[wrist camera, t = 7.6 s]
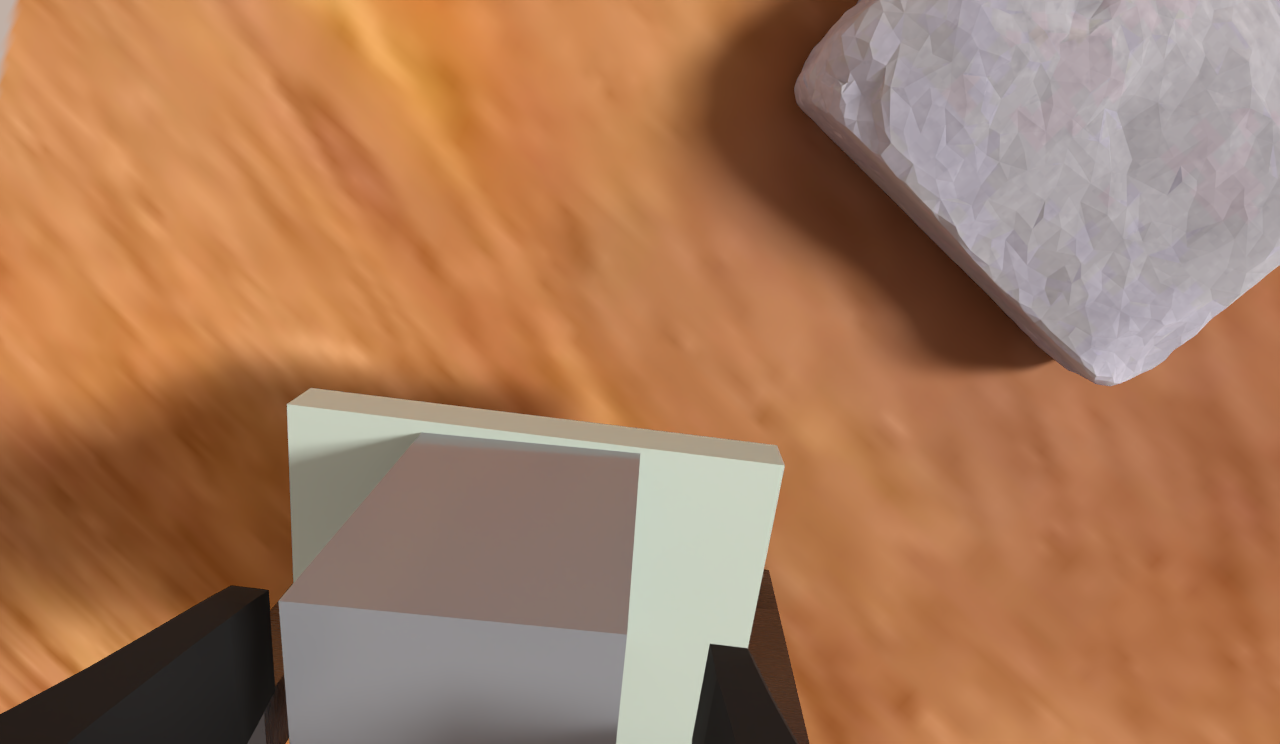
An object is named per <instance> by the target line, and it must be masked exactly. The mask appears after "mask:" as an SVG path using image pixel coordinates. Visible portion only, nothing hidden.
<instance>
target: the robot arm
mask: <svg viewBox="0 0 1280 744" xmlns="http://www.w3.org/2000/svg"><path fill="white" fill-rule="evenodd" d="M274 692H275V677H274V662H273V647H272V632H271V617H270V603H269V590H264V589H256V588H248V587H240V586H230V587H228V588H226V589H224V590H222V591H220V592H218V593H216V594H215V595H213V596H211V597H209V598H207V599H206V600H204V601H202V602H200V603H199V604H197V605H195V606H193V607H192V608H190V609H188V610H187V611H185V612H183V613H181V614H180V615H178V616H176V617H175V618H173V619H171V620H170V621H168V622H166V623H164V624H163V625H161V626H159V627H158V628H156V629H154V630H152V631H151V632H149V633H147V634H146V635H144V636H142V637H140V638H139V639H137V640H135V641H133V642H132V643H130V644H128V645H126V646H125V647H123V648H121V649H120V650H118V651H116V652H114V653H113V654H111V655H109V656H107V657H106V658H104V659H102V660H100V661H99V662H97V663H95V664H93V665H92V666H90V667H88V668H86V669H84V670H83V671H81V672H79V673H77V674H75V675H73V676H71V677H69V678H68V679H66V680H64V681H62V682H60V683H58V684H56V685H55V686H53V687H51V688H49V689H47V690H45V691H43V692H41V693H40V694H38V695H36V696H34V697H32V698H30V699H28V700H27V701H25V702H23V703H21V704H19V705H17V706H15V707H13V708H12V709H10V710H8V711H6V712H4V713H2V714H0V744H247V743H248V742H249V740H250V738H251V736H252V734H253V732H254V731H255V729H256V727H257V725H258V723H259V721H260V719H261V717H262V715H263V713H264V711H265V709H266V708H267V706H268V704H269V702H270V700H271V698H272V696H273V694H274ZM692 744H799V743H798V742H797V740H796V738H795V736H794V735H793V733H792V731H791V729H790V728H789V726H788V724H787V722H786V721H785V719H784V717H783V715H782V713H781V711H780V709H779V708H778V706H777V704H776V702H775V700H774V698H773V696H772V694H771V692H770V690H769V688H768V686H767V684H766V682H765V680H764V678H763V676H762V674H761V672H760V670H759V668H758V666H757V664H756V662H755V660H754V657H753V655H752V654H751V653H750V651H749V650H748V649H747V648H742V647H734V646H725V645H717V644H710V645H709V650H708V656H707V661H706V667H705V672H704V677H703V683H702V688H701V693H700V699H699V704H698V709H697V715H696V720H695V725H694V731H693V736H692Z"/></svg>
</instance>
